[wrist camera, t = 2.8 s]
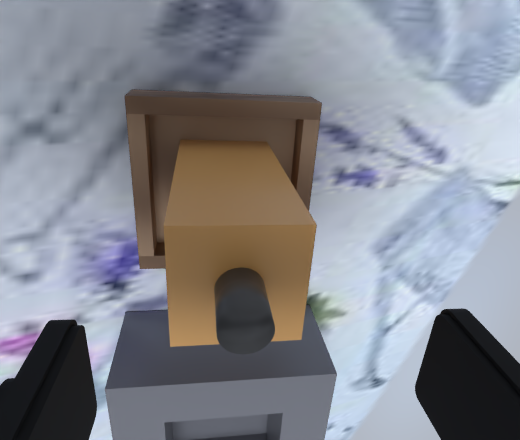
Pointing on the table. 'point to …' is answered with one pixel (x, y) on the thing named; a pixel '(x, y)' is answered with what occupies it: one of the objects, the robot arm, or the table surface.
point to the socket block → (217, 386)
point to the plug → (235, 248)
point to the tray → (209, 128)
